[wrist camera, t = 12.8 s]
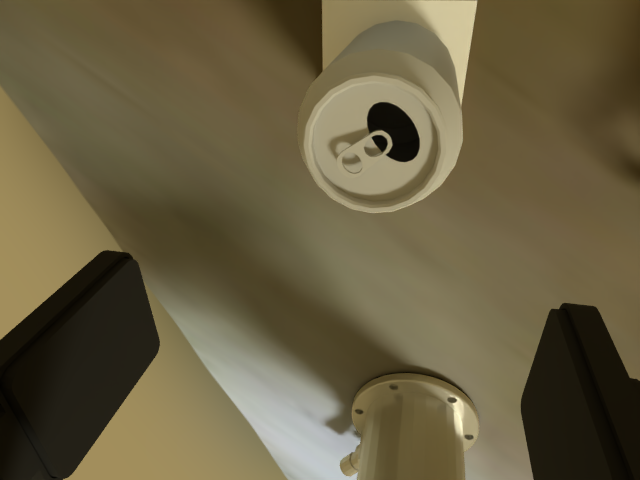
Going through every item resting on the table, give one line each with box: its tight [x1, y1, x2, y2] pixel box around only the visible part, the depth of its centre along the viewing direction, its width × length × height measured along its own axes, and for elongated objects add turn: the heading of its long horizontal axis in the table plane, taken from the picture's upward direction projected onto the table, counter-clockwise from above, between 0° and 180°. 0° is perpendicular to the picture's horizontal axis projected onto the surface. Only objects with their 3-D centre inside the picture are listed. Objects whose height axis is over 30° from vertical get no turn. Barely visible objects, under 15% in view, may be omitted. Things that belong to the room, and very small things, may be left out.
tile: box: [322, 0, 477, 104], centre depth 29 cm, size 9×9×1 cm
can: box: [297, 20, 463, 213], centre depth 24 cm, size 8×8×12 cm
